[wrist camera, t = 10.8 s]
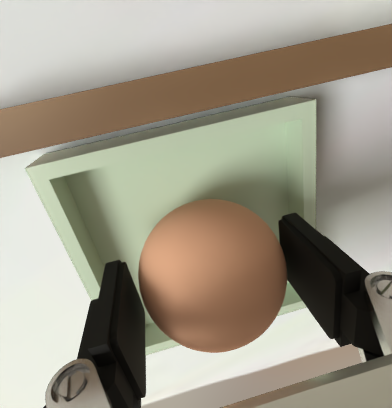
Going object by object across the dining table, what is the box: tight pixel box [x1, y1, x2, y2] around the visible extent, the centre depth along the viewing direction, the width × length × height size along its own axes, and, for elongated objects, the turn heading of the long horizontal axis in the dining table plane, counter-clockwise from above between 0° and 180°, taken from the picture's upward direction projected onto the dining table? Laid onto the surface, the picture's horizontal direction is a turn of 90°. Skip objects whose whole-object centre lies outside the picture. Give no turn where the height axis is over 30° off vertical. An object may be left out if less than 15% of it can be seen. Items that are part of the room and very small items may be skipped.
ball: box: [138, 199, 287, 353], centre depth 11 cm, size 6×6×6 cm
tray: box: [25, 97, 316, 355], centre depth 13 cm, size 11×11×2 cm
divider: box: [0, 24, 392, 158], centre depth 10 cm, size 1×16×4 cm, turn 101°
